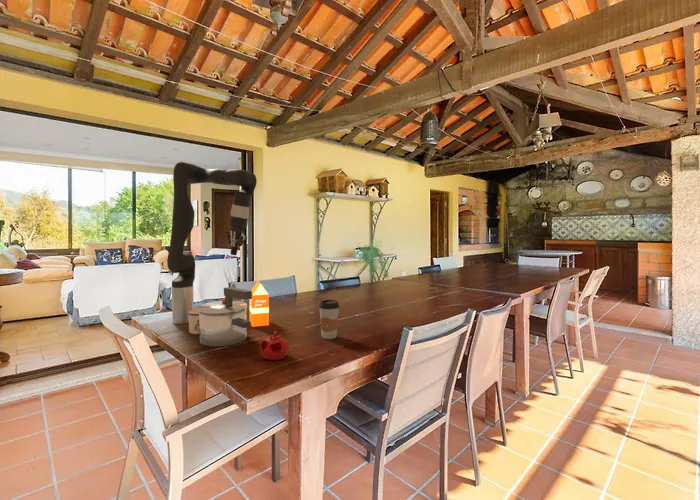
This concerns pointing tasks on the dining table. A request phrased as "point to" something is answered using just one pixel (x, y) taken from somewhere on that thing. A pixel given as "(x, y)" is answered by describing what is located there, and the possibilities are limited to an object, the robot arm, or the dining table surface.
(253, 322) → the orange juice
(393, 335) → the dining table surface
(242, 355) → the dining table surface
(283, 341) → the pomegranate
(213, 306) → the cooker lid
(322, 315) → the coffee cup
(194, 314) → the teacup with lid
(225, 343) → the cooker pot
